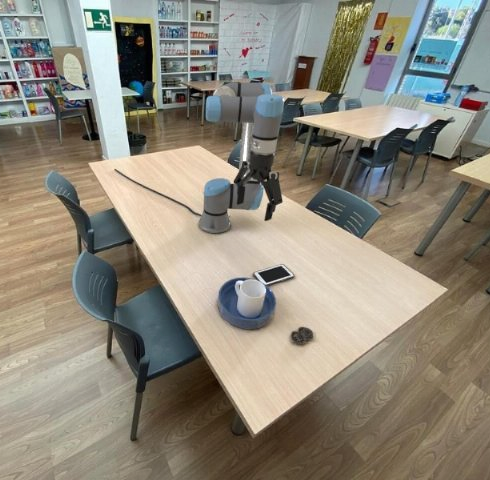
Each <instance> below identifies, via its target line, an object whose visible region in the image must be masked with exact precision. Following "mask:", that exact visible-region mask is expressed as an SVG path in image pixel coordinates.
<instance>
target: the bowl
mask: <svg viewBox="0 0 490 480" xmlns="http://www.w3.org/2000/svg"><path fill="white" fill-rule="evenodd" d="M249 279H252V280H257V279H256V278H251V277H243V276H242V277H234V278H231V279H229V280H227V281H225V282H224V283H223V284H222V285H221V286H220V288H219V290H218V295H217V296H218V297H217V308H218V309H217V310H218V312H219V313H220V315H221V317H222V318H223V319H224V320H225V321H226V322H227V323H230V324H231V325H232V326H233V327H237V328H240V329H243V330H256V329H259V328H262V327H265V326H266V325H268V324H269V323H270V322H271V320H272V319H273V318H274V313H275V310H276V306H277V298H276V296H275V294H274V292H273V290H272V289H271V288H270V287H269V285H268V286H266V285H265V284H264V283H262V282H261V283H262V284H263V285H264V286H265V288H266V293H265V298H264V302H263V306H262V311H261V313H260V315H259V316H257V317H255V318H246V317H244V316H242V315H241V314H240V313H239V311H238V309H237V303H238V295H237V293H236V290H235V284H236V282H237V281H245V280H249ZM257 281H258V280H257ZM259 282H260V281H259ZM239 290H240V285H239Z"/></svg>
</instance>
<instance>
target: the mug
mask: <svg viewBox="0 0 490 480" xmlns="http://www.w3.org/2000/svg"><path fill="white" fill-rule="evenodd" d="M252 279H253V278H252ZM252 279H249V280H245V281H237V282H236V284H235V290H236V293H237V295H238V303H237V309H238V311H239V313H240V314H241V315H242V316H244V317H246V318H255V317H257V316H259V315H260V313H261V311H262V306H263V302H264V298H265V293H266V288H265V286H264V285H263V284H262V283H261V282H259V281H257V279H255V280H252ZM239 285H240V290H239Z"/></svg>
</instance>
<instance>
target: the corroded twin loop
mask: <svg viewBox="0 0 490 480" xmlns="http://www.w3.org/2000/svg"><path fill="white" fill-rule="evenodd" d="M303 332H304V333H303ZM305 334H306V335H305ZM290 337H291V341H292V342H293V343H295V344H298V345H303V344H305V343H306V341H311V340H313V339H314V332H313V330H312V329H311V328H308V327H306V326H299V327H298V330H293V331H291V333H290Z"/></svg>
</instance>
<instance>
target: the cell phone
mask: <svg viewBox="0 0 490 480" xmlns="http://www.w3.org/2000/svg"><path fill="white" fill-rule="evenodd" d="M252 275H253V277H254V279H255V280H258V281H260V282H262V283H264V284H265V285H266V286H268V287H269V286H270V285H274V284H277V283H281V282H284V281H287V280H290V279H293V278H295V274H294V273H293V272H292V270H290V269H289V268H288V267H287V266H286V265H285V264H282V263H281V264H278V265H274V266H271V267H267V268H264V269H260V270H257V271H254V272H253V273H252Z"/></svg>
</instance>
